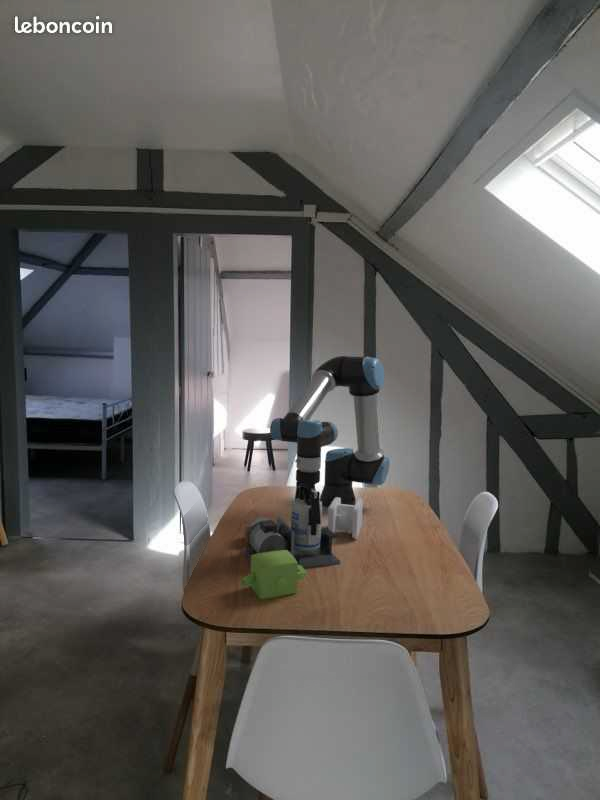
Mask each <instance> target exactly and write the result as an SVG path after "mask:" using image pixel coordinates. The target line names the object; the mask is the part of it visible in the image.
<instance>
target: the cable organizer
mask: <svg viewBox="0 0 600 800" xmlns="http://www.w3.org/2000/svg"><path fill="white" fill-rule="evenodd" d="M356 500H357V501H356V504H355V505H346V504H341V498H339V497H335V499H333V501H332V503H331V505H330V507H327V514H328V520H327V523H328V524H327V528H328V529H329V530H331V531H332V532H333V533H334V534H335V535H336V533H337V532H338V533H339V534H341V531H345V532H347V534H351V535H352V536H351V537H352V539H354V540H357V539H358V537H359V534H360V531H361V529H362V524H363V508H364V507H363V505H364V504H363V503H364V501H363V499H362V498H358V499H356Z"/></svg>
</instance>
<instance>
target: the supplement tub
mask: <svg viewBox="0 0 600 800" xmlns="http://www.w3.org/2000/svg"><path fill="white" fill-rule="evenodd" d="M319 503H320V519H321V524H318V525H317V542H316V545H307V540H308V525H307V524H308V523H309V509H311V506H308V505H307V504H306V503H305V499H301V500H300V499H299V498H298V499H295V498H294V499H293V500H292V505H291V517H290V518H291V519H290V520H291V521H290V527H291V528H292V529H293V530H294V531H295V540H294V549H296V550H299V551H314V550H317V549H318V548H319V547H320V539H321V529H322V521H323V519H322V518H323V505H322V502H321V501H320V499H319Z"/></svg>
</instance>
